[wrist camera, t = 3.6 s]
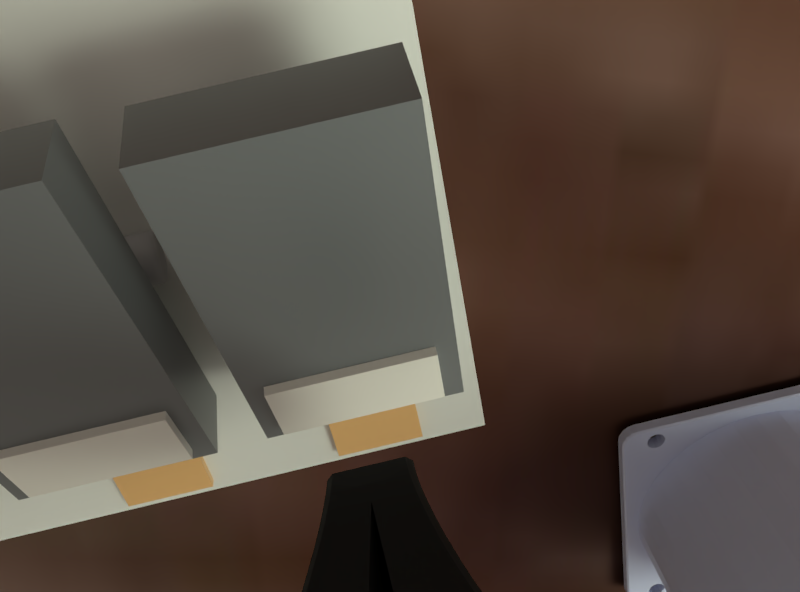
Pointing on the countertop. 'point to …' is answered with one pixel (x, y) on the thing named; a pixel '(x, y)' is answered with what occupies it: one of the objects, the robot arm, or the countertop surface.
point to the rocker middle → (83, 335)
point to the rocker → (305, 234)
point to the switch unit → (99, 155)
